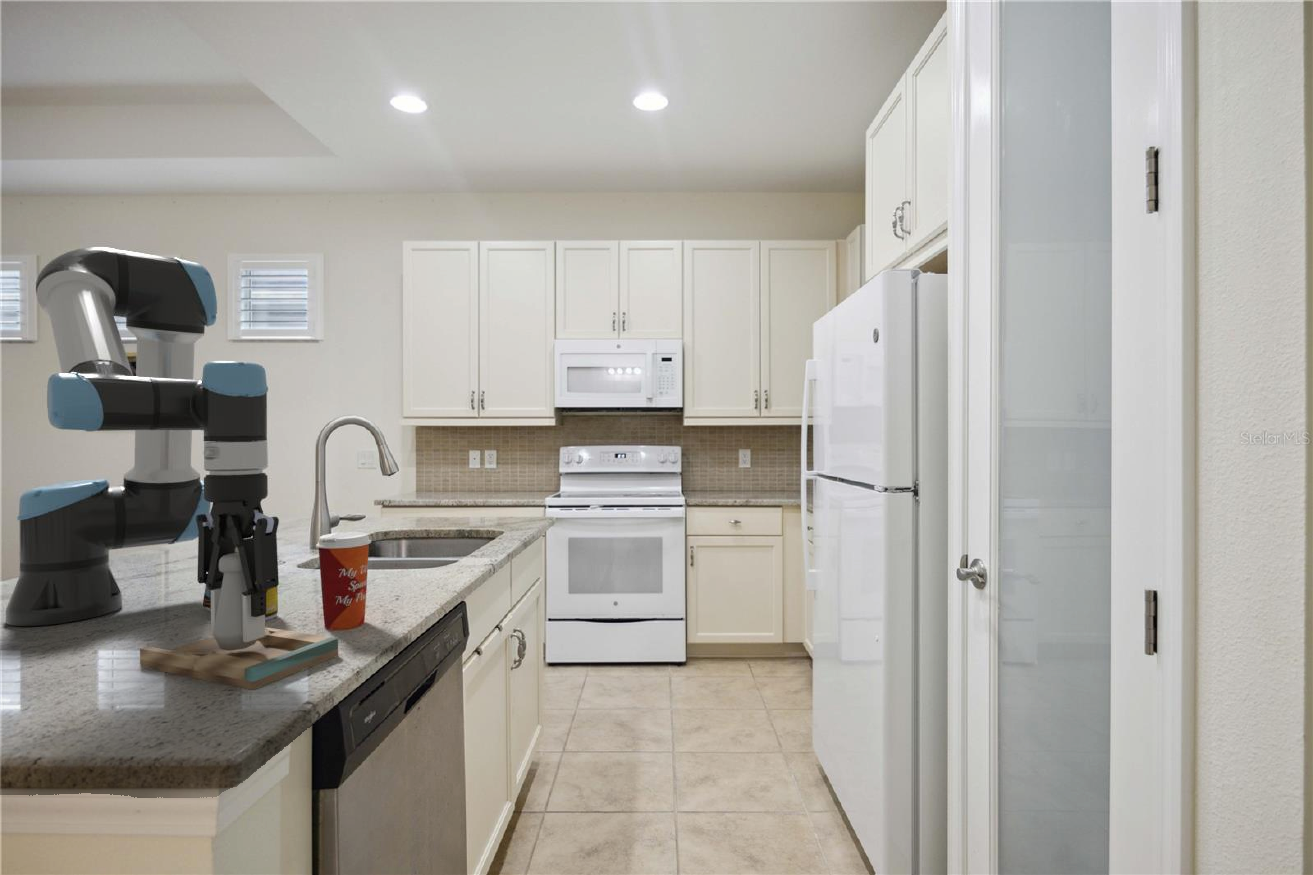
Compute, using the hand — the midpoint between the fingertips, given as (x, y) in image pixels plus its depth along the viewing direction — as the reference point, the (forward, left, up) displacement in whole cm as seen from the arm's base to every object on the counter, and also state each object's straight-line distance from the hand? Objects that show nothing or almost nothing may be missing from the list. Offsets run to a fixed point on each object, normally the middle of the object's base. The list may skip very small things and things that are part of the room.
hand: (238, 636), depth 91 cm
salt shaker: (0, 0, -2) cm, 2 cm away
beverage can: (-27, +17, -4) cm, 32 cm away
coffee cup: (0, +18, -4) cm, 18 cm away
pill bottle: (-17, +15, -4) cm, 23 cm away
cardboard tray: (0, 0, -4) cm, 4 cm away
